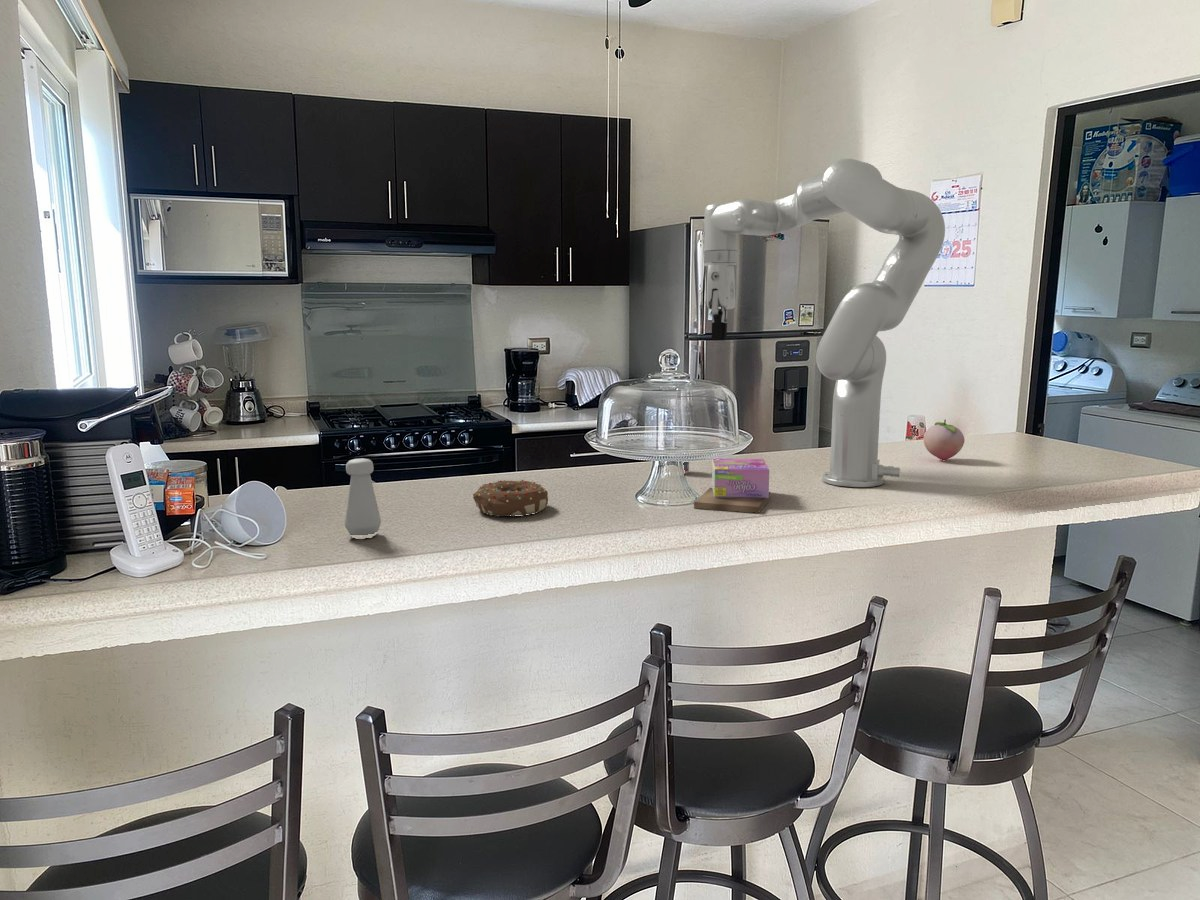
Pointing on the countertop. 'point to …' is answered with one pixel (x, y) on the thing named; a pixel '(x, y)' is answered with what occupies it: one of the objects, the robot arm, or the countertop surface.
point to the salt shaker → (361, 499)
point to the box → (740, 478)
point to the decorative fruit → (943, 440)
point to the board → (730, 503)
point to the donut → (511, 498)
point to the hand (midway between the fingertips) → (719, 340)
